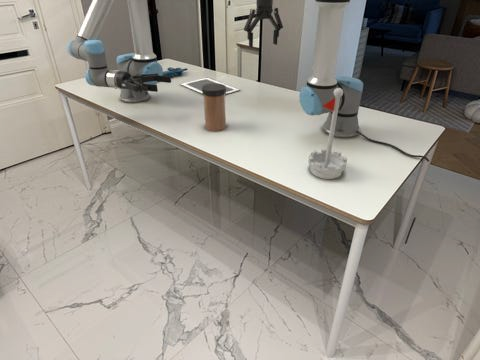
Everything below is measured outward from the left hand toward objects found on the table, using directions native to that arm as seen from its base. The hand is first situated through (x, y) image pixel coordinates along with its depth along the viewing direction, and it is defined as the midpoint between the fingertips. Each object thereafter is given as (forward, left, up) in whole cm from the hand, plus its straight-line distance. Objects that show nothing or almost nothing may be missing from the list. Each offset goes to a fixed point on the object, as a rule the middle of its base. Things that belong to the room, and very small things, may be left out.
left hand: (164, 83), depth 146 cm
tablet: (-22, +50, -19) cm, 58 cm away
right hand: (+14, +53, +9) cm, 55 cm away
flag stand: (+75, +8, -19) cm, 78 cm away
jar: (+19, +11, -19) cm, 29 cm away
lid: (+19, +12, -1) cm, 22 cm away
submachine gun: (-65, +48, -19) cm, 83 cm away
